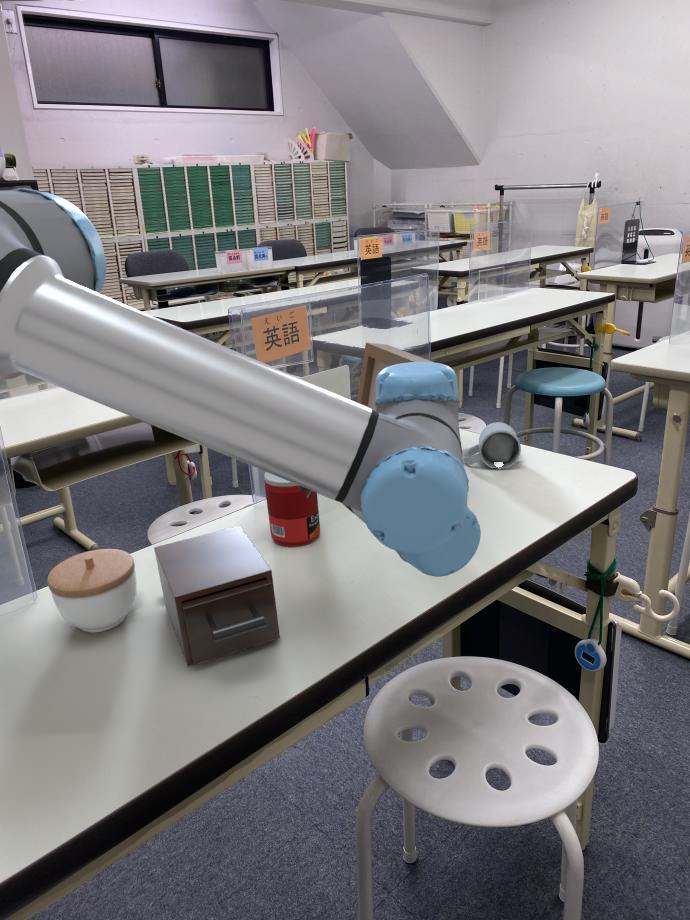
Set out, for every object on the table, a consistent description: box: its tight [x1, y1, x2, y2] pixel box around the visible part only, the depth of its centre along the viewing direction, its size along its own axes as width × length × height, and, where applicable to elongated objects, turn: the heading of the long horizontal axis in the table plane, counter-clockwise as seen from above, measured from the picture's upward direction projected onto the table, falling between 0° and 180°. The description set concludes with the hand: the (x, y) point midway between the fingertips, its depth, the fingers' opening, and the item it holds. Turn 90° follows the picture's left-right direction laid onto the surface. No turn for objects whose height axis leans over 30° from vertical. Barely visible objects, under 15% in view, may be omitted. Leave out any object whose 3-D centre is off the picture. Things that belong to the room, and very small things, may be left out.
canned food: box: [263, 471, 321, 547], centre depth 108 cm, size 8×8×11 cm
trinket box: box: [46, 548, 138, 633], centre depth 90 cm, size 11×11×9 cm
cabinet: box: [153, 525, 281, 667], centre depth 87 cm, size 14×12×10 cm
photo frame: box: [356, 342, 435, 411], centre depth 120 cm, size 15×22×25 cm
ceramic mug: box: [462, 421, 522, 469], centre depth 131 cm, size 11×8×8 cm
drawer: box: [182, 579, 279, 666], centre depth 84 cm, size 16×10×8 cm, turn 24°
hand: (301, 431), depth 96 cm, fingers open, 4 cm apart
